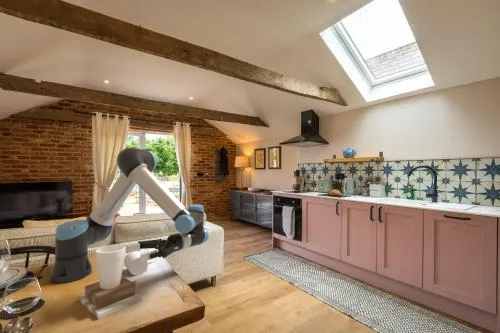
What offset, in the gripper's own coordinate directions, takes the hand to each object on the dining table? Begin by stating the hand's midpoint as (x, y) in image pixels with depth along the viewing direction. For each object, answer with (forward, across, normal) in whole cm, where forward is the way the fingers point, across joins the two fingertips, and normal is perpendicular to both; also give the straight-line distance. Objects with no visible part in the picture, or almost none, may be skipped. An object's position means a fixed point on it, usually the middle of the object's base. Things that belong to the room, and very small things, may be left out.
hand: (131, 254), depth 93 cm
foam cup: (+7, 0, -9) cm, 12 cm away
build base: (+7, 0, -15) cm, 16 cm away
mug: (-12, +17, -15) cm, 26 cm away
